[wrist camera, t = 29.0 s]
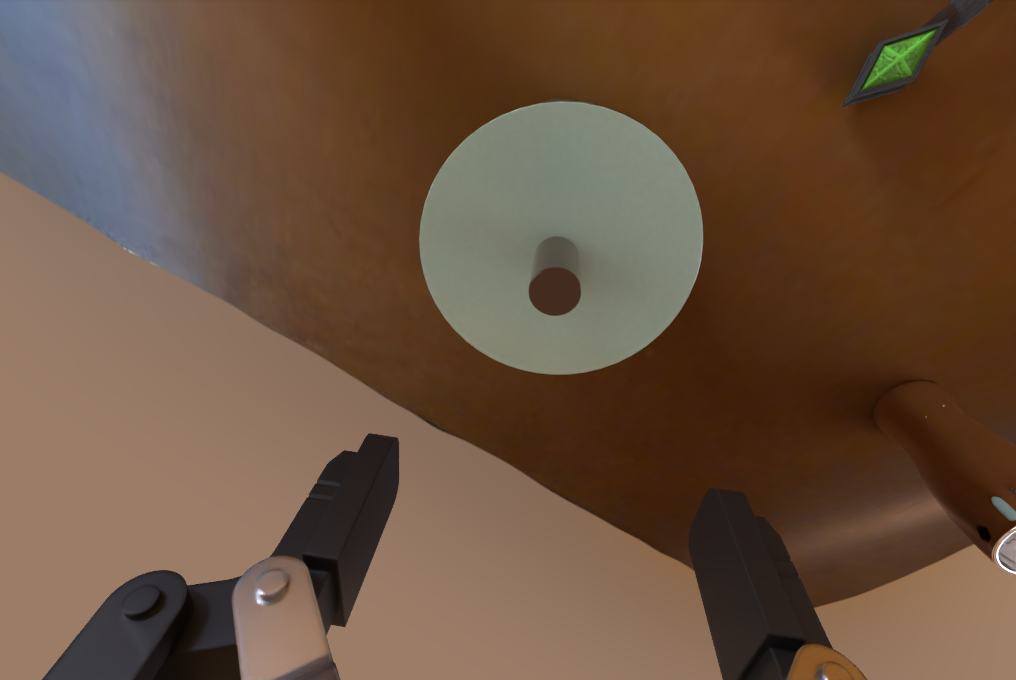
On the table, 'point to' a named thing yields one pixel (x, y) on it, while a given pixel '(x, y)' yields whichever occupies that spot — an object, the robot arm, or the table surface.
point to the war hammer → (909, 52)
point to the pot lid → (561, 238)
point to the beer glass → (957, 464)
